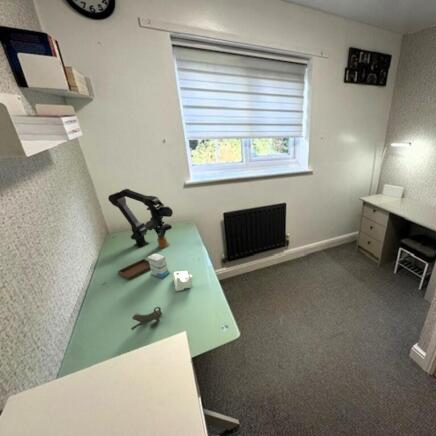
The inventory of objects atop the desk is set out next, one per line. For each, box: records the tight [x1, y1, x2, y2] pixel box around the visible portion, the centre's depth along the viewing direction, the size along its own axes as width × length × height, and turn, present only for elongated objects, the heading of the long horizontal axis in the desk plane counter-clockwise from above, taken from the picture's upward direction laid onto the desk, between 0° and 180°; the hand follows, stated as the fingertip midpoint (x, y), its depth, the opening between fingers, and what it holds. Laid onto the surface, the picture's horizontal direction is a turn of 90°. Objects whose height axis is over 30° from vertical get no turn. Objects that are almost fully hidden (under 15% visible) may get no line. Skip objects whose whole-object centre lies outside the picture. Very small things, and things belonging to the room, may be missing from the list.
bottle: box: [157, 236, 169, 249], centre depth 164 cm, size 6×6×9 cm
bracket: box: [172, 270, 193, 292], centre depth 129 cm, size 13×7×8 cm, turn 31°
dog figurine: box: [130, 306, 163, 331], centre depth 103 cm, size 12×6×7 cm, turn 114°
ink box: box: [147, 253, 169, 279], centre depth 135 cm, size 8×5×12 cm, turn 65°
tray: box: [117, 258, 151, 281], centre depth 140 cm, size 11×15×2 cm
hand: (161, 236), depth 163 cm, fingers closed on cap, 4 cm apart
